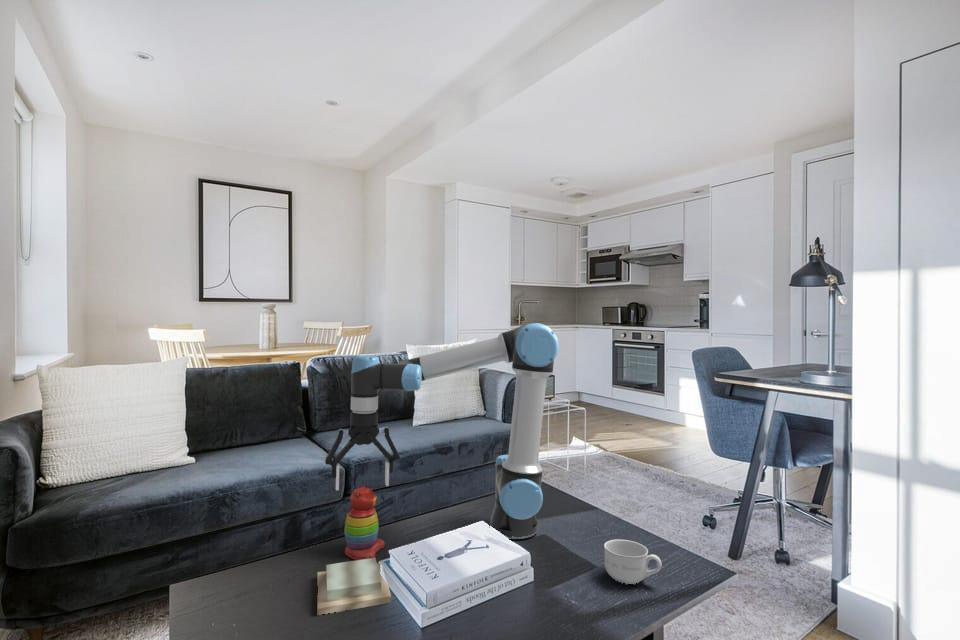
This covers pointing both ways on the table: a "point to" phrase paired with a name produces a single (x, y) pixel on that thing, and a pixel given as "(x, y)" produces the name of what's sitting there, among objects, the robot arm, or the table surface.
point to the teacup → (628, 561)
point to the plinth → (351, 601)
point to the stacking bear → (362, 526)
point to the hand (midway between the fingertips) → (362, 486)
